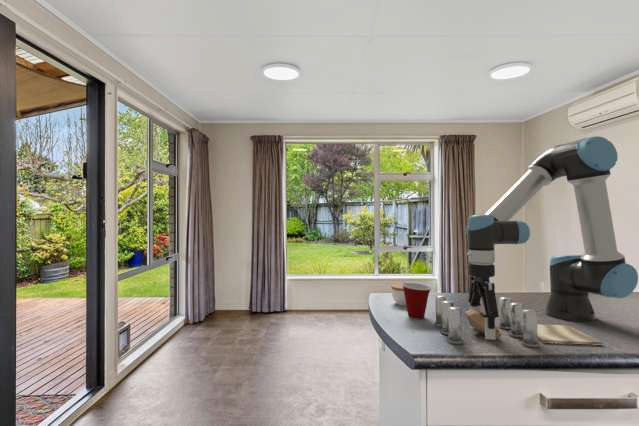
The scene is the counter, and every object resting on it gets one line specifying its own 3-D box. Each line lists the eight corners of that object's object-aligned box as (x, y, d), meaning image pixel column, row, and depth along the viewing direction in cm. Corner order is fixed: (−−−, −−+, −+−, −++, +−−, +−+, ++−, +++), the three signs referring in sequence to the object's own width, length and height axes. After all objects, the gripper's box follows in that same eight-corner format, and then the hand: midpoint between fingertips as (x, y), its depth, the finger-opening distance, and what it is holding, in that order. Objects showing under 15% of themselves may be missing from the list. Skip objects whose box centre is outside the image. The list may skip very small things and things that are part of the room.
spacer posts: (509, 326, 115) (509, 296, 115) (542, 348, 94) (542, 312, 95) (433, 323, 117) (433, 294, 118) (449, 344, 97) (449, 309, 97)
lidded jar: (421, 306, 142) (421, 283, 142) (399, 307, 139) (399, 285, 139) (408, 300, 152) (408, 279, 153) (387, 301, 149) (387, 280, 150)
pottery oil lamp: (486, 342, 99) (486, 318, 99) (459, 329, 110) (458, 308, 110) (510, 339, 101) (510, 315, 101) (481, 327, 113) (480, 306, 113)
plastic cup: (433, 322, 119) (433, 288, 120) (402, 320, 121) (402, 287, 122) (430, 313, 130) (429, 282, 130) (401, 312, 132) (401, 281, 132)
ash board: (567, 328, 112) (567, 325, 112) (602, 345, 97) (602, 342, 97) (517, 326, 114) (517, 323, 114) (543, 343, 98) (543, 340, 98)
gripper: (457, 259, 119) (458, 320, 118) (483, 268, 95) (484, 345, 95) (480, 259, 118) (481, 321, 117) (510, 268, 94) (512, 346, 94)
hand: (482, 332), depth 106 cm, fingers closed on pottery oil lamp, 11 cm apart
